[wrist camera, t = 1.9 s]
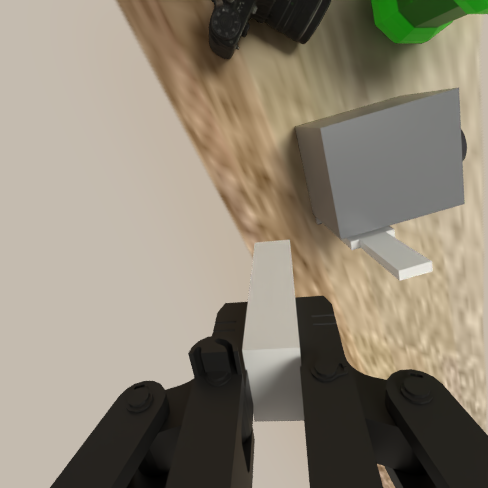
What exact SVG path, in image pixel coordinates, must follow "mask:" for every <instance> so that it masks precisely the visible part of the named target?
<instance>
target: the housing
mask: <svg viewBox="0 0 488 488" xmlns="http://www.w3.org/2000/svg"><path fill="white" fill-rule="evenodd" d="M295 130H296V135H297V139H298V144H299V149H300V154H301V159H302V163H303V168H304V173H305V178H306V182H307V187H308V192H309V197H310V201H311V206H312V211H313V215H315V216H316V217H315V218H316V223H317V224H322V223H323V224H324V225H325V226H327V227H328V228H329V229H330V230H331V231H332V232H333V233H334V234H335V235H336V236H338V237H339V238H340V239H345V238H348V237H351V236H355V235H358V234H362V233H365V232H369V231H372V230H376V229H379V228H383V227H386V226H390V225H393V224H396V223H400V222H403V221H407V220H410V219H414V218H417V217H421V216H424V215H428V214H431V213H435V212H438V211H441V210H445V209H448V208H452V207H455V206H459V205H462V204H464V185H463V164H462V162H463V160H464V158H465V156H466V151H467V143H466V139H465V136H464V133H463V131H462V130H461V122H460V101H459V88H453V89H446V90H439V91H431V92H424V93H417V94H410V95H403V96H398V97H395V98H391V99H388V100H384V101H381V102H378V103H374V104H371V105H367V106H364V107H361V108H357V109H354V110H350V111H347V112H343V113H340V114H337V115H333V116H330V117H326V118H323V119H320V120H316V121H313V122H309V123H306V124H302V125H299V126H296V127H295Z"/></svg>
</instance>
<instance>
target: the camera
mask: <svg viewBox="0 0 488 488" xmlns="http://www.w3.org/2000/svg"><path fill="white" fill-rule="evenodd" d="M212 2H214V5H215V6H214V11H213V13H212V16H211V19H210V24H209V44H210V47H211V49H212V50H213V52H214V53H216V54H217V55H218V56H220V57H222V58H224V59H230V58H231V57H232V55H233V53H234V50H235V49H238V50H239V47H238V45H237V44H238V41H239V39H240V37H241V36H242V37H245V36H246V35H247V32H248V30H249V24H248V20H250V19H252V18H253V19H256V20H257V22H259V23H263V22H266V23H267V24H269V25H270V26H271V27H272V28H274V29H276V30H277V31H279V32H281V33H284V34H285V35H286V36H287V37H289V38H290V39H292V40H294V41H298V42H300V43H302V44H305V43H306V42H307V41H308V40H309V39H310V37H311V36H312V35H313V33H314V32H315V30H316V29H317V27H318V25H319V24H320V22H321V20H322V18H323V16H324V15H325V13H326V11H327V9H328V7H329V5H330V3H331V0H212Z"/></svg>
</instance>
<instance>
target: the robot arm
mask: <svg viewBox="0 0 488 488" xmlns="http://www.w3.org/2000/svg"><path fill="white" fill-rule="evenodd" d="M213 331H214V332H213V334H212V336H211V337H207V338H205V339H202V340H200V341H198V342H197V343H196V344H195V345H194V346H193V347H192V348H191V350H190V352H189V353H188V354H189V358H190V362H191V365H192V369H193V373H194V379H192V380H191V381H189V382H187V383H185V384H182V385H180V386H177V387H174V388H170V389H167V390H165V389H164V388H163V387H162V385H161V384H159V383H157V382H155V381H143V382H140V383H137V384H134V385H132V386H131V387H129V388H127V389H126V390H125V391H124V392H123V393H122V394H121V395H120V396H119V397H118V398H117V400H116V401H115V402H114V404H113V405H112V406H111V408H110V409H109V410H108V412H107V413H106V414H105V416H104V417H103V418H102V420H101V421H100V422H99V424H98V425H97V426H96V428H95V429H94V430H93V432H92V433H91V434H90V435H89V437H88V438H87V440H86V441H85V442H84V443H83V445H82V446H81V447H80V449H79V450H78V451H77V453H76V454H75V455H74V457H73V458H72V459H71V461H70V462H69V463H68V465H67V466H66V467H65V469H64V470H63V471H62V473H61V474H60V475H59V477H58V478H57V479H56V480H55V482H54V483H53V484H52V486H51V487H50V488H252V478H253V459H254V434H253V428H252V424H253V414H254V420H255V421H296V420H297V421H300V420H304V422H305V433H306V446H307V457H308V470H309V482H310V488H383V486H382V482H381V478H380V474H379V470H378V467H377V464H380V465H383V466H385V469H386V471H387V472H388V474H389V476H390V478H391V480H392V482H393V484H394V486H395V488H488V435H487V434H486V433H485V432H484V431H483V430H482V429H481V427H480V426H479V425H478V424H477V423H476V422H475V421H474V419H473V418H472V417H471V416H470V415H469V414H468V413H467V412H466V410H465V409H464V408H463V407H462V406H461V405H460V404H459V402H458V401H457V400H456V399H455V398H454V397H453V396H452V395H451V393H450V392H449V391H448V390H447V389H446V388H445V387H444V385H443V384H442V383H440V382H439V381H438V380H437V379H436V378H434V377H433V376H431V375H429V374H426V373H424V372H422V371H417V370H412V369H409V370H399V371H397V372H395V373H393V374H391V376H390V377H389V378H388V379H387V380H384V379H380V378H375V377H371V376H368V375H365V374H363V373H361V372H359V371H357V370H356V369H354V368H353V367H352V366H351V365H350V364H349V363H348V361H347V360H346V357H345V354H344V351H343V347H342V343H341V339H340V335H339V331H338V327H337V324H336V319H335V316H334V311H333V307H332V304H331V303H330V302H329V301H328V300H327V299H326V298H325V297H324V296H313V297H298V298H295V291H294V280H293V269H292V259H291V248H290V240H280V241H269V242H258V243H255V246H254V255H253V263H252V271H251V280H250V288H249V297H248V302H238V303H225V304H224V306H223V307H222V308H221V309H220V310H219V312H218V313H217V317H216V322H215V326H214V330H213Z"/></svg>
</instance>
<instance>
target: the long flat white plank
mask: <svg viewBox="0 0 488 488" xmlns="http://www.w3.org/2000/svg"><path fill="white" fill-rule="evenodd" d="M326 227H327V226H326ZM327 228H328V227H327ZM328 229H329V228H328ZM329 230H330V229H329ZM337 237H338V236H337ZM338 238H339V237H338ZM339 239H340V238H339ZM340 240H341V241H343V242H344V243H345V244H346V245H347V246H348V247H349V248H350V249H351V250H354V249H357V248H362V249H363V250H364V251H365V252H366V253H368V254H369V255H370V256H371V257H372V258H374V259H375V260H376V261H377V262H378V263H379V264H381V265H382V266H383V267H384V268H385V269H387V270H388V271H389V272H390V273H391V274H392V275H394V276H395V277H396V278H397V279H398V280H404V279H407V278H411V277H414V276H418V275H421V274H425V273H428V272H432V271H433V269H432V261H431V260H429V259H428V258H426V257H424V256H423V255H421V254H420V253H418V252H417V251H415V250H413V249H412V248H410V247H409V246H407V245H406V244H404V243H402V242H401V241H399V240H398V239H396V238H395V231H394V229H393V228H391V227H390V226H386V227H383V228H379V229H376V230H372V231H369V232H365V233H362V234H358V235H355V236H351V237H348V238H345V239H340Z"/></svg>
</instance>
